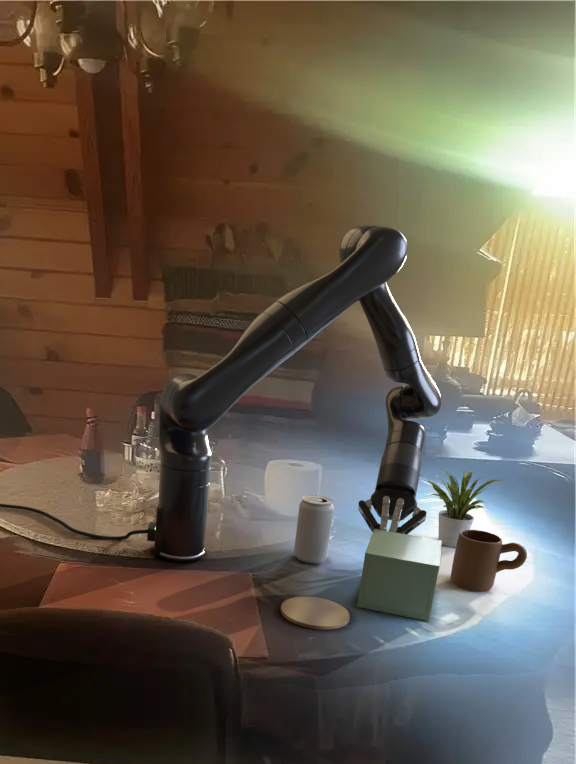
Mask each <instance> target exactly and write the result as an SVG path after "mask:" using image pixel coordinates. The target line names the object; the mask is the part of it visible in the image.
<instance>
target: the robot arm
mask: <svg viewBox="0 0 576 764" xmlns="http://www.w3.org/2000/svg"><path fill="white" fill-rule="evenodd" d="M338 249H339V250H338V257H339V261H340V264H339V265H337V266H336V267H335V268H334V269H332V270H331V271H329V272H328V273H326V274H324V275H322V276H320V277H317V278H316V279H313V280H311V281H309V282H307V283H304V284H302V285H300V286H298V287H296V288H294V289H292V290H290V291H289V292H286V293H285V294H283V295H281V296H280V297H279V298H277V299H276V300H275V301H273V302H272V303H270V305H268V306H267V307H266V308H265V309H264V310H262V312H260V313H259V314H258V315H256V317H254V319H253V320H252V321H250V323H249V324H248V325H247V327H246V328H245V330H244V331H243V332H242V334H241V336H240V337H239V338H238V340H237V342H236V343H235V344H234V346H233V347H232V349H231V350H230V351H229V352H228V353H227V354H226V355H225V356H224V357H223V358H222V359H221V360H219V361H218V362H217V363H216V364H215V365H213V366H212V367H210V368H209V369H208V370H206V371H205V372H203V373H202V374H200V375H199V376H197V375H195V374H191V373H181V374H177V375H175V376H173V377H172V378H170V379H169V380H168V382H167V383H166V384H165V386H163V390H162V392H161V396H160V401H159V402H160V403H159V421H158V423H159V424H158V446H159V451H160V468H159V483H158V484H159V485H158V498H157V506H156V516H155V521H149V523H148V526H147V528H146V529H136V530H135V529H134V530H131V531H128V532H127V533H126V534H125V535H119V536H111V535H110V536H108V535H100V534H94V533H91V532H85V531H82V530H80V529H76V528H73V527H71V526H70V525H69V524H67V523H66V522H65V521H63V520H62V519H59V518H57V517H55V516H53V515H52V514H49V513H48V512H45V511H43V510H40V509H37V508H34V507H30V506H23V505H16V504H8V503H7V504H6V503H0V508H3V509H5V508H6V509H13V510H21V511H28V512H32V513H36V514H40V515H42V516H44V517H46V518H48V519H50V520H52V521H53V522H55V523H58V524H60V525H61V526H63V527H64V528H65V529H67V530H68V531H70V532H72V533H74V534H76V535H78V536H79V535H80V536H84V537H87V538H92V539H99V540H113V541H123V540H127V539H129V538H130V537H131V536H134V535H140V534H146V542H154V545H153V556H154V557H157V558H162V559H164V560H167V561H173V562H180V563H181V562H185V563H186V562H193V561H198V560H200V559H202V558H204V557H205V551H204V549H205V546H206V532H207V521H208V520H207V518H208V506H209V496H210V484H211V483H210V482H211V472H212V462H213V454H212V449H211V446H210V444H209V443H210V442H209V438H208V429H209V428H211V427H213V426H214V425H215V424H217V422H218V421H220V419H222V418H223V417H224V415H225V414H226V413H228V411H229V410H230V409H231V408H232V407H233V406H234V405H235V404H236V403H237V402H238V401H239V400H240V399H241V398H242V397H243V396H244V395H245V394H247V392H248V391H249V390H250V389H252V388H253V387H254V386H255V385H256V384H258V383H259V382H261V381H262V380H263V379H264V378H265V377H267V376H268V375H269V374H270V373H272V372H273V371H274V370H275V369H277V368H278V367H279V366H280V365H281V364H282V363H284V362H285V361H287V360H288V359H289V358H290V357H292V356H293V355H295V353H297V352H298V351H299V350H300V349H301V348H303V347H304V346H306V345H307V344H309V342H310V341H311V340H312V339H313V338H314V337H315V336H317V334H319V333H320V332H321V331H323V330H324V329H325V328H326V327H327V326H329V325H330V324H332V322H334V321H335V320H336V319H338V317H340V316H341V315H342V314H343V313H344V312H346V311H347V310H348V309H349V308H350V307H351V306H352V305H354V304H356V303H357V302H358V301H359V304H360V306H361V308H362V310H363V312H364V315H365V317H366V320H367V322H368V324H369V327H370V330H371V333H372V335H373V338H374V341H375V344H376V348H377V350H378V353H379V357H380V361H381V364H382V368H383V370H384V373H385V377H386V378H387V379H388V380H389V381H391V382H394V383H401V384H406V385H399V386H398V385H397V386H394V387H393V388H392V389H390V390H389V391H388V393H387V395H386V396H385V409H386V416H387V437H386V441H385V445H384V446H385V447H384V451H383V454H382V457H381V460H380V464H379V468H378V469H379V470H378V475H377V479H376V483H375V488H374V492H373V493H372V494H371V495H370V498H369V499H367V500H363V499H361V500H359V501H358V508H357V509H358V510H357V511H358V512H359V513H360V514H361V516H362V518H363V520H364V521H365V523H366V525H367V527H368V528H369V530H370V532H372V533H373V531H374V529H378V530H384V531H390V532H395V533H401V534H407V535H410V533H411V532H412V531H414V530H416V529H417V528H418V527H419V526H420V525H421V524H423V523H424V522H425V521H426V518H427V511H426V510H424V509H421V508H420V507H419V506H418V500H417V491H418V485H419V480H420V477H421V473H422V472H421V470H422V461H423V460H422V459H423V458H422V457H423V451H424V445H425V440H426V431H425V428H424V426H423V425H421V424H420V423H418V422H416V421H417V420H427V419H432V418H434V417H436V416H437V415H438V414H439V412H440V410H441V408H442V397H441V393H440V390H439V387H437V385H436V382H435V381H434V380H433V378H432V377H431V375H430V373H428V371H427V369H426V367H425V366H424V364H423V362H422V359H421V356H420V352H419V348H418V345H417V341H416V337H415V335H414V333H413V329H412V328H411V326H410V323H409V322H408V320H407V319H406V316H405V315H404V314H403V312H402V311H401V309H400V307H399V306H398V304H397V302H396V300H395V299H394V297H393V295H392V292H391V291H390V288H389V286H388V283H387V282H388V281H390V280H391V279H392V278H394V277H395V276H396V275H397V274H398V273H399V272H400V270H401V269H402V267H403V265H404V263H405V262H406V259H407V256H408V241H407V239H406V237H405V236H404V234H403V233H402V232H400V231H399V230H397V229H395V228H393V227H390V226H383V225H371V224H369V225H368V224H362V225H356V226H353V227H352V228H350V229H349V230H347V232H346V233H345V234H344V235H343V237H342V239H341V241H340V244H339V248H338ZM372 507H373V509H374V511H375V513H376V514H377V516H378V517H379V518H380V523H378V521H377V519H376V518H375V516H374V515H373V512H372ZM410 515H411V517H410V519H408V520H406V518H407V517H409V516H410ZM404 520H406V522H404V523H403V524H401V526H400V522H402V521H404ZM389 521H391V522H390V526H389V529H388V523H389Z"/></svg>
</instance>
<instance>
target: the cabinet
mask: <svg viewBox="0 0 576 764" xmlns="http://www.w3.org/2000/svg"><path fill="white" fill-rule="evenodd" d="M442 545H443V544H442V540H438V539H435V538H431V537H430V538H429V537H425V536H424V537H423V536H419V535H412V534H401V533H395V532H390V531H389V530H387V531H384V530H378V529H374V531H373V532H372V534H371V536H370V540H369V542H368V544H367V547H366V550H365V552H364V558H363V565H362V571H361V577H360V584H359V591H358V597H357V603H356V607H357V608H362V609H366V610H372V611H377V612H381V613H385V614H391V615H395V616H401V617H406V618H411V619H415V620H420V621H425V622H430V620H431V614H432V608H433V603H434V597H435V593H436V587H437V582H438V576H439V570H440V566H441V565H440V564H441V556H442V555H441V554H442Z"/></svg>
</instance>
